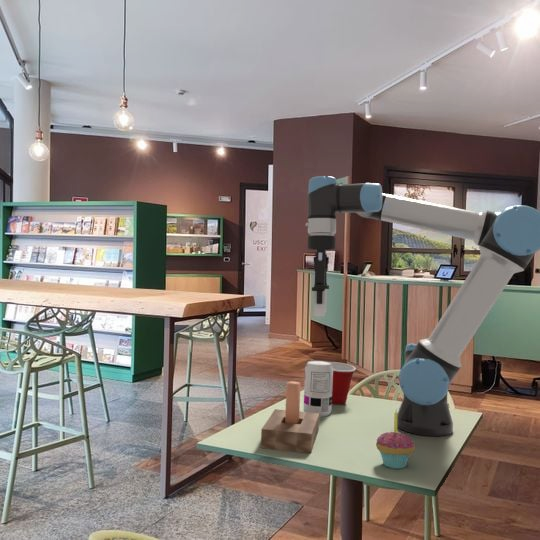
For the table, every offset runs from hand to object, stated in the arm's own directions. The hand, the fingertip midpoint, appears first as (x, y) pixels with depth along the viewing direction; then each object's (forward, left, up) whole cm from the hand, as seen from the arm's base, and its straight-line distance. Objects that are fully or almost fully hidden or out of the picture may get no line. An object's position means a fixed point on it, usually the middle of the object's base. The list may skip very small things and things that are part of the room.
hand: (320, 314), depth 145 cm
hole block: (+5, +10, -31) cm, 33 cm away
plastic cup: (-4, -30, -31) cm, 43 cm away
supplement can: (+1, -15, -31) cm, 34 cm away
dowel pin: (+5, +10, -31) cm, 33 cm away
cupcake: (-20, +21, -31) cm, 42 cm away
